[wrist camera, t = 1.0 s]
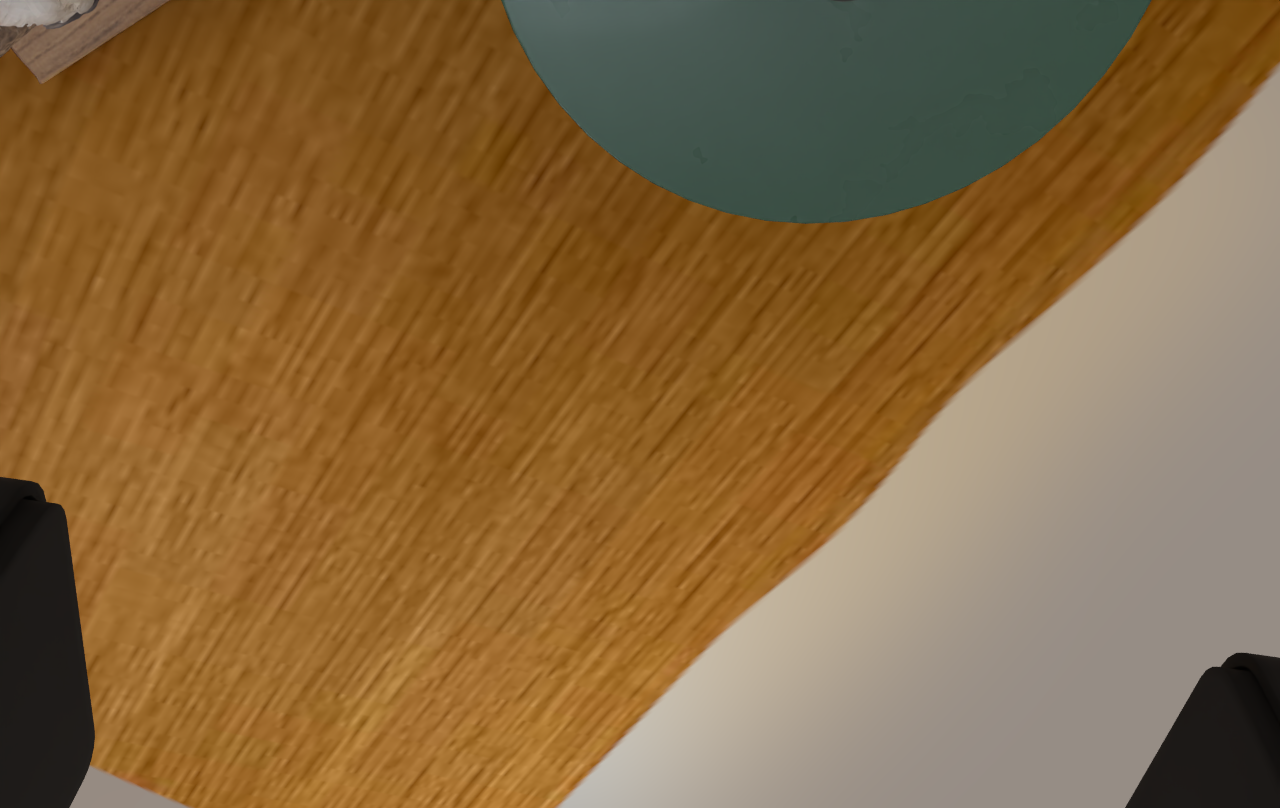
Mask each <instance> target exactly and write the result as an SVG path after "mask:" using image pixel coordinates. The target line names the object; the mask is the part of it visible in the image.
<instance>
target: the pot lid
mask: <svg viewBox="0 0 1280 808" xmlns="http://www.w3.org/2000/svg"><path fill="white" fill-rule="evenodd" d="M501 1H502V3H503V6H504V8H505V11H506V13H507V16H508V19H509V21H510V24H511V26H512V29H513V31H514V33H515V35H516V37H517V39H518V41H519V42H520V44H521V46H522V48H523V50H524V52H525V53H526V55H527V57H528V59H529V61H530V63H531V64H532V66H533V68H534V70H535V71H536V73H537V74H538V76H539V77H540V78H541V80H542V81H543V83H544V84H545V85H546V87H547V88H548V90H549V91H550V92H551V94H552V95H553V96H554V98H555V99H556V101H557V102H558V103H559V105H560V106H561V107H562V108H563V109H564V110H565V111H566V112H567V113H568V115H569V116H570V117H571V118H572V119H573V120H574V121H575V122H576V123H577V124H578V125H579V126H580V127H581V129H582V130H583V131H584V132H585V133H586V134H587V135H588V136H589V137H590V138H592V139H593V140H594V141H595V142H596V143H598V144H599V145H600V146H601V147H602V148H604V149H605V150H606V151H607V152H608V153H610V154H611V155H612V156H613V157H614V158H616V159H617V160H618V161H619V162H621V163H622V164H624V165H625V166H627V167H629V168H630V169H632V170H633V171H635V172H636V173H638V174H639V175H641V176H643V177H644V178H646V179H647V180H649V181H650V182H652V183H654V184H656V185H658V186H660V187H662V188H664V189H666V190H668V191H670V192H673V193H675V194H677V195H679V196H681V197H683V198H685V199H687V200H689V201H692V202H696V203H699V204H702V205H705V206H708V207H711V208H714V209H717V210H720V211H723V212H726V213H730V214H735V215H740V216H745V217H750V218H755V219H760V220H765V221H778V222H792V223H805V224H806V223H827V222H846V221H852V220H858V219H864V218H870V217H877V216H883V215H887V214H891V213H894V212H898V211H901V210H905V209H908V208H912V207H915V206H919V205H922V204H926V203H928V202H930V201H933V200H935V199H938V198H940V197H942V196H945V195H947V194H950V193H952V192H954V191H957V190H959V189H962V188H964V187H966V186H968V185H970V184H971V183H973V182H975V181H977V180H979V179H980V178H982V177H984V176H986V175H987V174H989V173H991V172H993V171H995V170H996V169H998V168H1000V167H1002V166H1003V165H1005V164H1006V163H1008V162H1009V161H1010V160H1012V159H1013V158H1015V157H1016V156H1017V155H1019V154H1020V153H1022V152H1023V151H1024V150H1026V149H1027V148H1029V147H1030V146H1031V145H1033V144H1034V143H1036V142H1037V141H1038V140H1040V139H1041V138H1042V137H1043V136H1044V135H1045V134H1046V133H1047V132H1049V131H1050V130H1051V129H1052V128H1053V127H1054V126H1055V125H1056V124H1057V123H1059V122H1060V121H1061V120H1062V119H1063V118H1064V117H1065V116H1066V115H1068V114H1069V113H1070V112H1071V111H1072V110H1073V109H1074V108H1075V107H1076V106H1077V104H1078V103H1079V102H1080V101H1081V100H1082V99H1083V98H1084V97H1085V96H1086V94H1087V93H1088V92H1089V91H1090V90H1091V89H1092V88H1093V87H1094V85H1095V84H1096V83H1097V82H1098V81H1099V80H1100V79H1101V78H1102V77H1103V75H1104V74H1105V73H1106V71H1107V70H1108V68H1109V67H1110V66H1111V64H1112V63H1113V61H1114V60H1115V59H1116V57H1117V56H1118V54H1119V53H1120V52H1121V50H1122V49H1123V47H1124V46H1125V45H1126V43H1127V42H1128V40H1129V39H1130V38H1131V36H1132V34H1133V32H1134V31H1135V29H1136V27H1137V25H1138V23H1139V22H1140V20H1141V18H1142V16H1143V14H1144V13H1145V11H1146V9H1147V7H1148V5H1149V4H1150V2H1151V0H501Z"/></svg>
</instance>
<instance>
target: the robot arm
mask: <svg viewBox="0 0 1280 808" xmlns="http://www.w3.org/2000/svg"><path fill="white" fill-rule="evenodd" d="M94 740H95V730H94V722H93V715H92V707H91V700H90V692H89V685H88V677H87V670H86V662H85V654H84V647H83V639H82V632H81V624H80V617H79V609H78V602H77V594H76V587H75V579H74V572H73V564H72V557H71V549H70V542H69V534H68V527H67V519H66V515H65V511H64V509H63V508H62V506H61V505H59V504H56V503H49V502H46V499H45V495H44V491H43V489H42V488H41V487H40V485H39V484H38V483H35V482H32V481H25V480H18V479H11V478H4V477H0V808H69V807H70V805H71V803H72V801H73V800H74V798H75V796H76V794H77V791H78V790H79V788H80V786H81V784H82V782H83V780H84V778H85V775H86V773H87V771H88V768H89V765H90V762H91V758H92V753H93V749H94ZM1125 808H1280V658H1277V657H1270V656H1263V655H1256V654H1249V653H1236V654H1234V655H1232V656H1230V657H1228V658H1227V660H1226V661H1225V662H1224V663H1223V665H1222V666H1221V667H1212V668H1209V669H1208V670H1206V671H1205V673H1204V674H1203V675H1202V676H1201V678H1200V680H1199V681H1198V683H1197V685H1196V686H1195V688H1194V690H1193V692H1192V693H1191V695H1190V697H1189V699H1188V700H1187V702H1186V704H1185V705H1184V707H1183V709H1182V711H1181V712H1180V714H1179V716H1178V718H1177V719H1176V721H1175V723H1174V725H1173V726H1172V728H1171V730H1170V731H1169V733H1168V735H1167V737H1166V738H1165V740H1164V742H1163V743H1162V745H1161V747H1160V749H1159V750H1158V752H1157V754H1156V756H1155V757H1154V759H1153V761H1152V763H1151V764H1150V766H1149V768H1148V769H1147V771H1146V773H1145V775H1144V776H1143V778H1142V780H1141V781H1140V783H1139V785H1138V787H1137V788H1136V790H1135V792H1134V794H1133V795H1132V797H1131V799H1130V800H1129V802H1128V804H1127V806H1126V807H1125Z"/></svg>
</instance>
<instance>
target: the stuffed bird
mask: <svg viewBox="0 0 1280 808" xmlns="http://www.w3.org/2000/svg"><path fill="white" fill-rule="evenodd" d="M168 1H169V0H0V57H1V56H3V55H4V54H5V53H6V52H7V51H8V50H9V49H10V48H11V49H12V50H13V51H14V53H15V54H16V55H17V56H18V57H19V58H20V60H21V61H22V62H23V63H24V64H25V65H26V66H27V67H28V68H29V70H30V71H31V72H32V73H33V74H34V75H35V76H36V77H37V79H38V81H39V83H41V84H43V83H44V82H46V81H47V80H49V79H50V78H52V77H53V76H55V75H56V74H58V73H60V72H61V71H63V70H64V69H66V68H67V67H69V66H70V65H72V64H73V63H75V62H76V61H78V60H79V59H81V58H82V57H84V56H85V55H87V54H88V53H90V52H91V51H93V50H94V49H96V48H97V47H99V46H101V45H102V44H104V43H105V42H107V41H108V40H110V39H111V38H113V37H114V36H116V35H117V34H119V33H120V32H122V31H123V30H125V29H126V28H128V27H130V26H131V25H133V24H134V23H136V22H137V21H139V20H140V19H142V18H143V17H145V16H146V15H148V14H149V13H151V12H153V11H154V10H156V9H157V8H159V7H160V6H162V5H163V4H164V3H166V2H168Z"/></svg>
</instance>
